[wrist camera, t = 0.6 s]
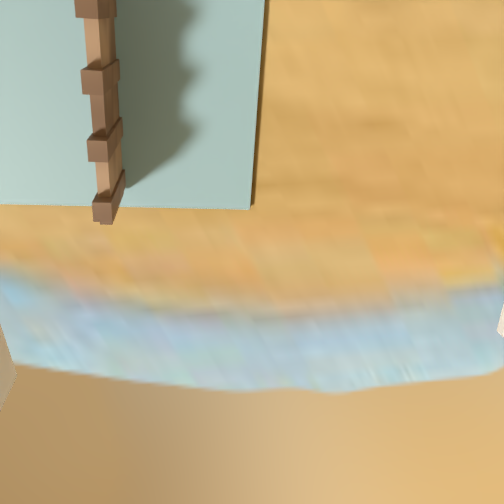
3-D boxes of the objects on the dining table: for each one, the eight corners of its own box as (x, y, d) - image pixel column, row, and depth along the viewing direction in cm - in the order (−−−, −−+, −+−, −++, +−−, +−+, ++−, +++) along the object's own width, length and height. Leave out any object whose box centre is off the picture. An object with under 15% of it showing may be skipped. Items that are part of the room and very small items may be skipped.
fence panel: (96, -19, 23) (71, -25, 19) (115, -17, 24) (95, -23, 19) (110, 193, 28) (94, 230, 24) (126, 193, 29) (112, 231, 24)
